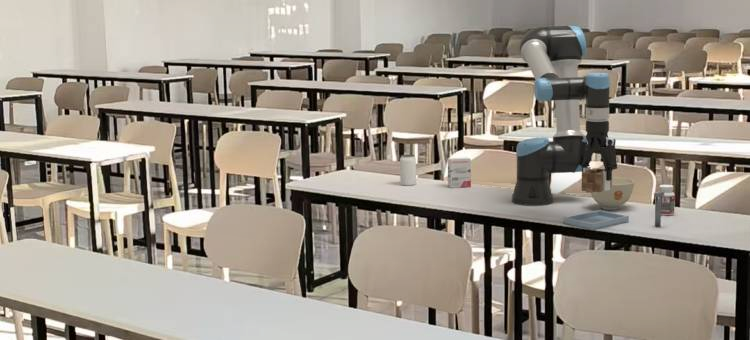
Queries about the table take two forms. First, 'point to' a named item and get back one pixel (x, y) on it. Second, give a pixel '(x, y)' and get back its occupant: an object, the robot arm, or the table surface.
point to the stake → (658, 208)
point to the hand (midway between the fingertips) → (596, 188)
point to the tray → (596, 220)
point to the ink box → (459, 172)
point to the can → (407, 170)
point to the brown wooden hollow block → (593, 180)
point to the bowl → (615, 193)
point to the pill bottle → (667, 200)
